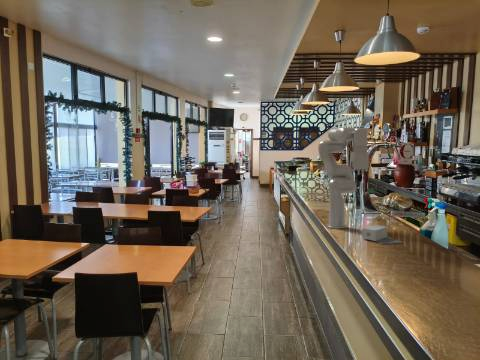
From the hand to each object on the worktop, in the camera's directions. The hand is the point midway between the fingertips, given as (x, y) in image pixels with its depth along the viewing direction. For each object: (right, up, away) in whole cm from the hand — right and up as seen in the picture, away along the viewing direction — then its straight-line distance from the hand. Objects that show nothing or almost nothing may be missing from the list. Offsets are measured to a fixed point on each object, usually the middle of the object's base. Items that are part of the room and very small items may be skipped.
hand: (359, 181), depth 214 cm
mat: (+13, -33, -4) cm, 36 cm away
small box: (+3, -30, -6) cm, 30 cm away
